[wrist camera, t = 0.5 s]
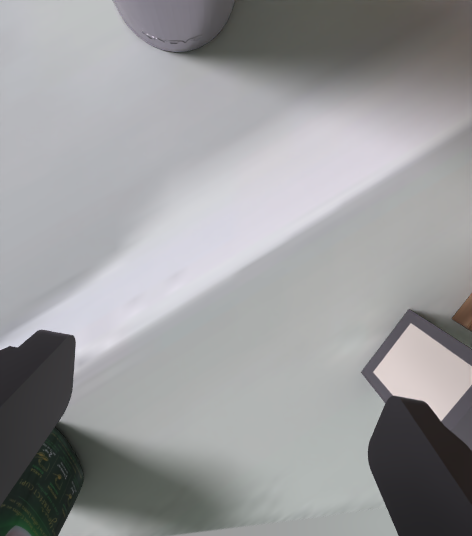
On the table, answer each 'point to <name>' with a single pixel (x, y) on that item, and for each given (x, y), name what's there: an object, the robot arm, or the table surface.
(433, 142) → the table surface
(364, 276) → the table surface
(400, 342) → the dark grey block
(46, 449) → the coffee jar
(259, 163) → the table surface
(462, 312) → the wooden channel tray
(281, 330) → the table surface
